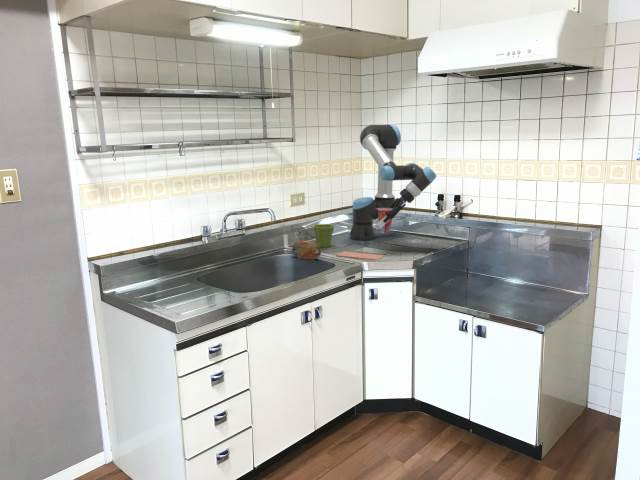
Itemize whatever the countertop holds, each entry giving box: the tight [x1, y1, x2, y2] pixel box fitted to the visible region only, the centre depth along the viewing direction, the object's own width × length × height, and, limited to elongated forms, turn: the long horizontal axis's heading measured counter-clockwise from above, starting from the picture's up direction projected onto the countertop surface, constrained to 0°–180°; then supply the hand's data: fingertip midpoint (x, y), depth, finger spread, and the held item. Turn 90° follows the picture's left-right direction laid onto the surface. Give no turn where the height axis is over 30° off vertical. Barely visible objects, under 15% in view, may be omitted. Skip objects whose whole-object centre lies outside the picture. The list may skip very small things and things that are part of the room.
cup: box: [375, 208, 393, 234], centre depth 267 cm, size 9×8×12 cm
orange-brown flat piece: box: [291, 240, 322, 261], centre depth 257 cm, size 15×3×8 cm, turn 62°
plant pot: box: [312, 223, 335, 248], centre depth 284 cm, size 12×12×11 cm
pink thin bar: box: [346, 250, 388, 256], centre depth 267 cm, size 2×22×1 cm, turn 64°
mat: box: [335, 250, 386, 261], centre depth 261 cm, size 10×22×1 cm, turn 64°
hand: (377, 224), depth 267 cm, fingers closed on cup, 7 cm apart
